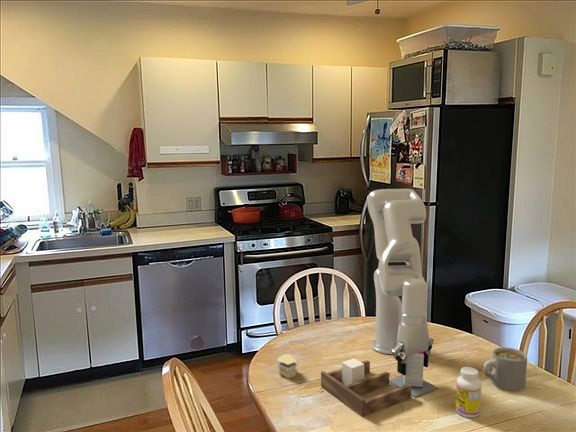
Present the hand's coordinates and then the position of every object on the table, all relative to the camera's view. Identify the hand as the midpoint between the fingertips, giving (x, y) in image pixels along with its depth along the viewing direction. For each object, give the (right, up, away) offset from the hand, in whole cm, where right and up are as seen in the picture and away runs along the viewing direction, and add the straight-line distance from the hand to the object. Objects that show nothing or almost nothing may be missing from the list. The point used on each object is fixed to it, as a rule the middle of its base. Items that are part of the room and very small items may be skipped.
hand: (412, 369), depth 154 cm
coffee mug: (+29, -5, +1) cm, 30 cm away
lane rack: (-15, -6, -3) cm, 17 cm away
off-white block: (-19, -6, +1) cm, 20 cm away
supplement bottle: (+12, -8, -15) cm, 21 cm away
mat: (0, -5, +1) cm, 5 cm away
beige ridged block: (-40, -5, +10) cm, 42 cm away
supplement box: (0, -5, +1) cm, 5 cm away
